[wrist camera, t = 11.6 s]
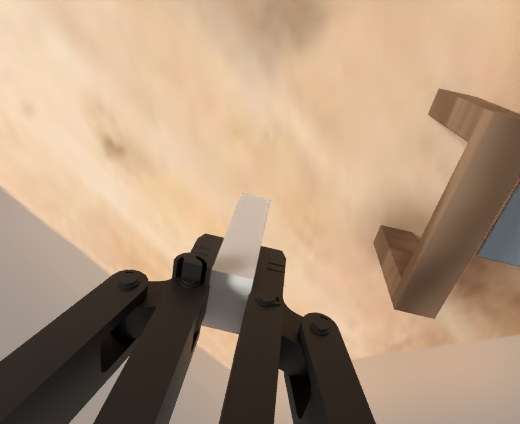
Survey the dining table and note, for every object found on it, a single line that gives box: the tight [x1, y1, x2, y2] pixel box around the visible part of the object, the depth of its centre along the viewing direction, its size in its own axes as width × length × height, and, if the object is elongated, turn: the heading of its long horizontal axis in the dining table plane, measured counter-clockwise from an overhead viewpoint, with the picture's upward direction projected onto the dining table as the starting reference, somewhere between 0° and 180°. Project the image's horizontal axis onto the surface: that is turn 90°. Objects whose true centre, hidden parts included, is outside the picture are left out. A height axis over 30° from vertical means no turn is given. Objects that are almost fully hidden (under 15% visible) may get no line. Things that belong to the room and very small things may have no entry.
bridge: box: [374, 89, 520, 319], centre depth 27 cm, size 3×14×9 cm, turn 168°
